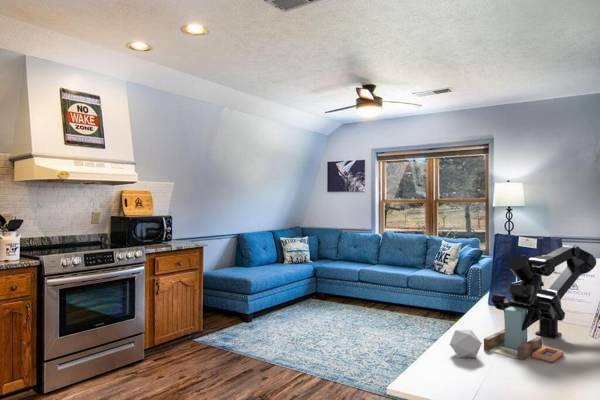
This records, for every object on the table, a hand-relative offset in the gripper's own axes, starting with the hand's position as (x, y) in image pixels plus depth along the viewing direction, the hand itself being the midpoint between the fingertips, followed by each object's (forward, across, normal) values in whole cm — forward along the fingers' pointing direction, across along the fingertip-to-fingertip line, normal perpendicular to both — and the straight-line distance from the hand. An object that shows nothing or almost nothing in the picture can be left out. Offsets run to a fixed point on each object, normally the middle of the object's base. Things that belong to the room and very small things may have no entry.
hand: (514, 328), depth 138 cm
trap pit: (+4, +10, +5) cm, 12 cm away
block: (+4, 0, +6) cm, 7 cm away
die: (+17, -7, -8) cm, 20 cm away
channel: (+5, 0, +4) cm, 7 cm away
